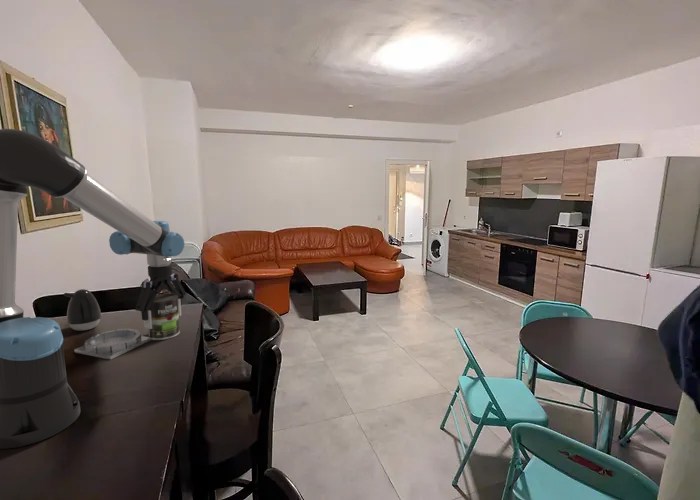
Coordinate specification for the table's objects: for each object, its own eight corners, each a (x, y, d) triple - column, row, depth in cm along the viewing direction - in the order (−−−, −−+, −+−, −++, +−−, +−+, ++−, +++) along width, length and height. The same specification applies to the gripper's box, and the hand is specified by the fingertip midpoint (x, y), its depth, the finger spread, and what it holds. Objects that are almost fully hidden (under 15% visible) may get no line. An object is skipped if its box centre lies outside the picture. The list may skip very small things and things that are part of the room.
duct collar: (110, 359, 105) (109, 350, 104) (74, 352, 109) (73, 343, 108) (151, 340, 119) (150, 332, 119) (117, 334, 123) (117, 326, 123)
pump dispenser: (72, 325, 130) (68, 287, 128) (104, 321, 135) (101, 284, 132) (63, 335, 121) (58, 294, 119) (98, 331, 125) (94, 291, 123)
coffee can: (185, 333, 125) (183, 297, 123) (155, 343, 117) (153, 304, 115) (172, 326, 131) (169, 291, 129) (143, 335, 123) (140, 297, 121)
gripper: (137, 273, 107) (142, 336, 111) (193, 259, 131) (196, 311, 134) (119, 271, 109) (124, 333, 113) (177, 257, 133) (180, 309, 136)
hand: (163, 321), depth 123 cm, fingers open, 13 cm apart
